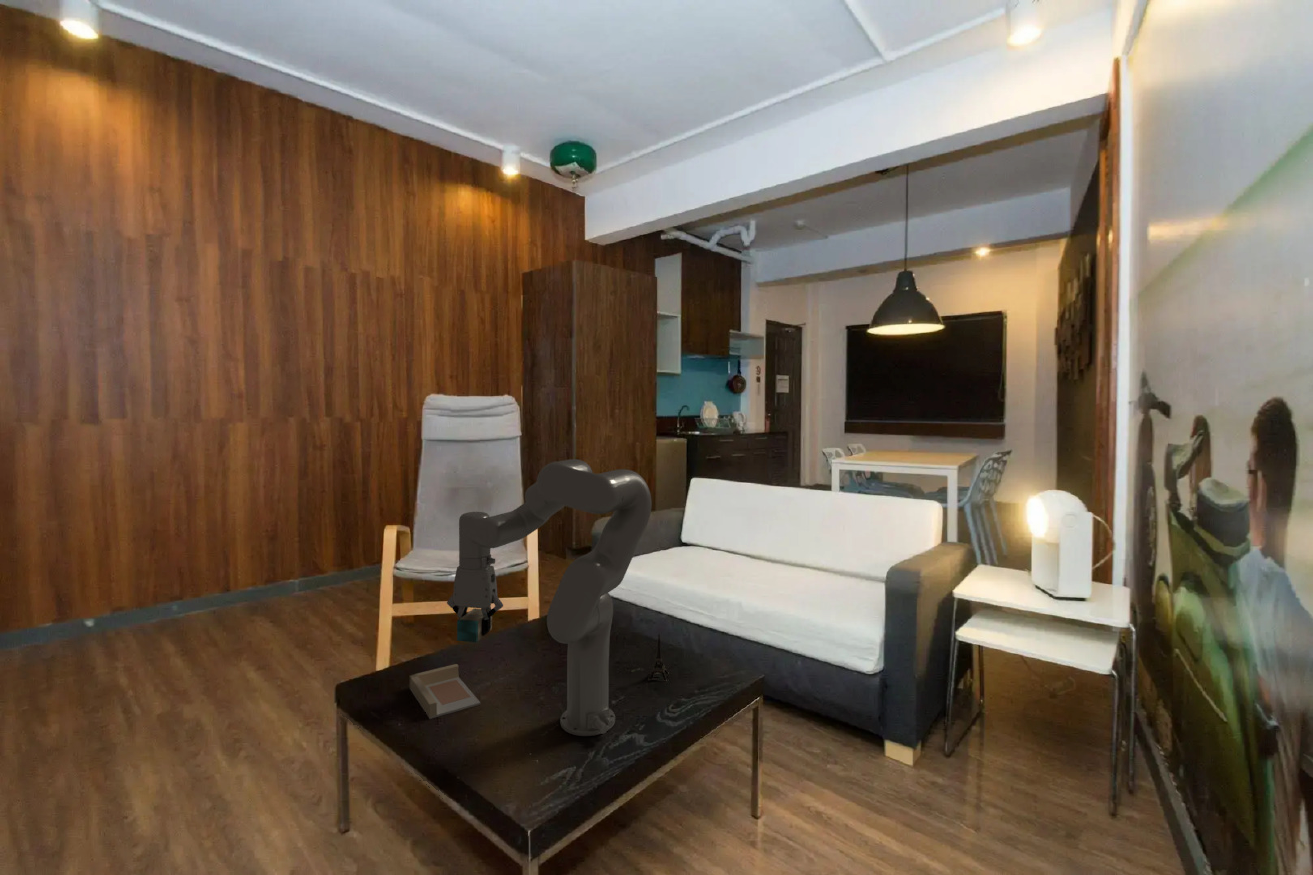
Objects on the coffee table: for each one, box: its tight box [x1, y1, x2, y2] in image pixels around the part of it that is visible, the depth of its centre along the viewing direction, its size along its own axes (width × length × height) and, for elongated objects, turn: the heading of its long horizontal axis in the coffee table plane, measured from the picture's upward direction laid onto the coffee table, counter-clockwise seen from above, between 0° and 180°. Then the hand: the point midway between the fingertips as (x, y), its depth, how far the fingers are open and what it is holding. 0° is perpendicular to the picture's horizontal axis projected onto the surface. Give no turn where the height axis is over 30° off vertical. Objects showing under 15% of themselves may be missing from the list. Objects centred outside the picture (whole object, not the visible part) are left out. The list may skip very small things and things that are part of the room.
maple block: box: [456, 608, 493, 643], centre depth 154 cm, size 5×9×5 cm, turn 171°
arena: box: [409, 663, 481, 720], centre depth 152 cm, size 18×12×4 cm, turn 36°
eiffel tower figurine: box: [630, 633, 669, 682], centre depth 165 cm, size 15×10×13 cm
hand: (474, 631), depth 154 cm, fingers closed on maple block, 5 cm apart
